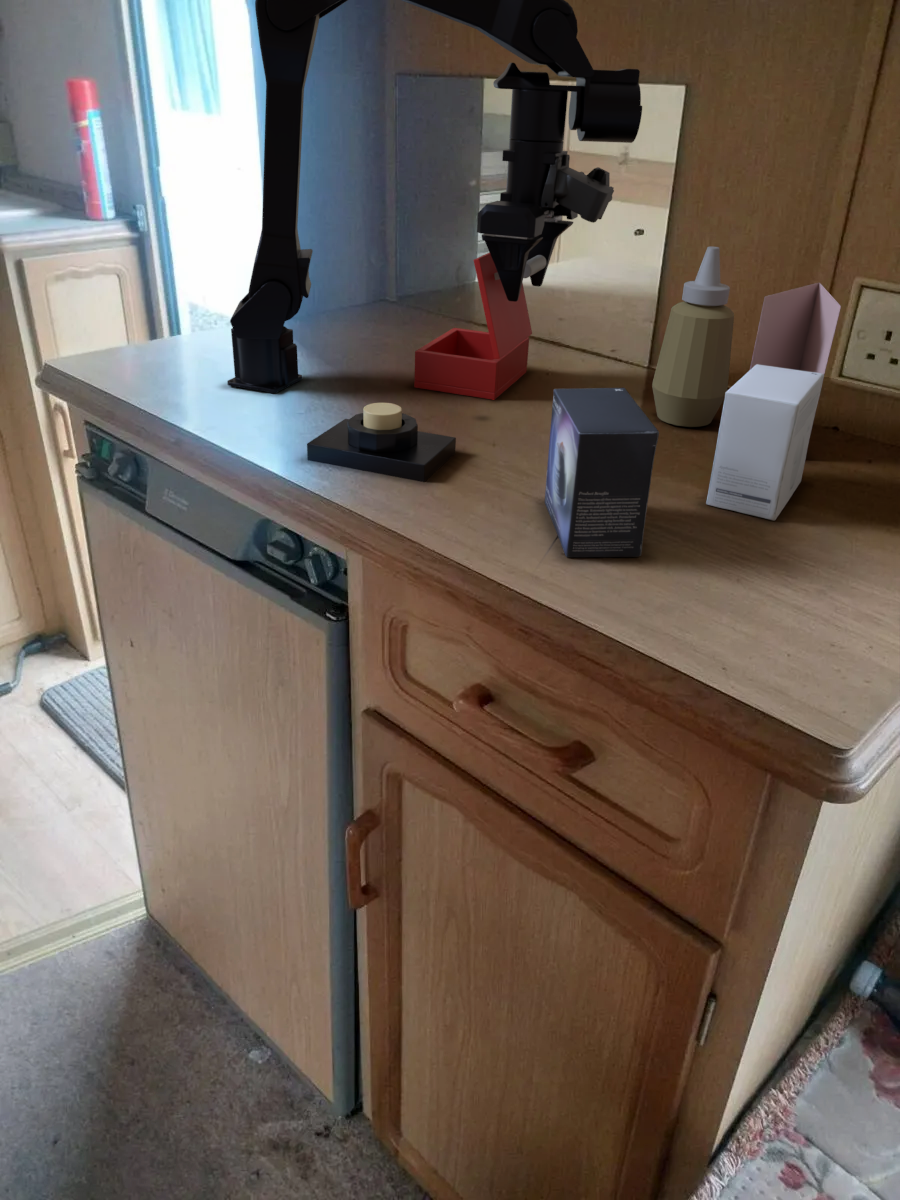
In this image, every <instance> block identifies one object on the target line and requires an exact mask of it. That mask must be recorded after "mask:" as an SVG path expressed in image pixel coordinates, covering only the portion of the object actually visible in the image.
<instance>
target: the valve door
mask: <svg viewBox="0 0 900 1200" xmlns="http://www.w3.org/2000/svg"><path fill="white" fill-rule="evenodd" d="M473 265H474V270H475V274H476V278H477V284H478V288H479V293H480V297H481V303H482V306H483V307H482V308H483V312H484V317H485V323H486V327H487V332H489V336H490V341H491V346H492V350H493V355H494V359H500V358H501V357H502V356H504V355H505V354H506V353H508V352H509V351H510V350H512V349H513V348H514V347H516V346H517V345H518V344H519V343H521V342H522V341H523V340H525V339H526V338H530V336H532V335H533V331H532V324H531V320H530V315H529V310H528V304H527V298H526V294H525V289H524V283H523V282H522V286H521V291H520V295H519V299H518V301H516V302H514V301H508V299H507V297H506V294H505V291H504V288H503V286H502V283H501V280H500V278H499V275H498V272H497V270H496V267H495V264H494V262H493V259H492V257H491V255H490V252H489V251H488V253H485V254H483V255H481V256H478V257H476V258H474V259H473ZM545 266H546V259H545V257H544V256H542V255H537V256H535V257H533V258H531V259H530V260H528V261H527V263H526V268H525V272H524V277H523V279H528V278H530V276H531V275H533V274H535V273H537V272H538V271H540V270H542V269H543V268H545Z"/></svg>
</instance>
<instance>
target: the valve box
mask: <svg viewBox="0 0 900 1200" xmlns="http://www.w3.org/2000/svg"><path fill="white" fill-rule="evenodd" d="M529 346H530V337H527V338H526V339H525V340H523V341H522V342H521V343H519V344H518V345H517V346H516V347H514V348H513V349H512V350H510V351H509V352H508V353H506V354H505V355H504V356H502V357H501V358H500V359H494V355H493V350H492V346H491V341H490V336H489V331H482V330H474V329H468V328H459V327H452V328H451V329H450V330H448V331H446V332H444V333H443V334H441V335H439V336H438V337H436V338H435V339H432V340H431V341H430V342H428V343H426V344H425V345H423V346H421V347H419V348H418V349H416V350H415V351H414V381H413V382H414V384H413V385H414V386H413V388H415V389H421V390H429V391H435V392H440V393H447V394H454V395H460V396H467V397H474V398H479V399H485V400H491V401H494V400H496V399H497V398H499V396H501V395H502V394H503V393H504V392H506V391H507V390H508V389H509V388H510V387H511V386H513V384H515V383H516V382H518V380H519V379H521V378H522V377H523V376H524V375H525V374H526V373H528V361H529V359H528V358H529V349H530V348H529Z"/></svg>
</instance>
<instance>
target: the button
mask: <svg viewBox="0 0 900 1200" xmlns="http://www.w3.org/2000/svg"><path fill="white" fill-rule="evenodd" d="M362 411H363V412H362V413H363V418H364V426H365V427H367V428H370V429H376V430H392V429H396V428H401V427H402V413H403V408H402V407H401V406H400V405H398V404H395V403H391V402H373V403H368V404H367V405H365V406H364V407H363V409H362Z"/></svg>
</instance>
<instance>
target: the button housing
mask: <svg viewBox="0 0 900 1200" xmlns="http://www.w3.org/2000/svg"><path fill="white" fill-rule="evenodd" d="M456 446H457V438H456V437H455V436H450V435H443V434H437V433H432V432H426V431H420V430H419V424H418V422H417V420H416V418H415V417H413V416H411V415H408V414H407V413H403V412H402V427H401V428H396V429H392V430H376V429H370V428H367V427H365V426H364V418H363V412H361V413H357V414H355V415H353V416H351V417H349V418H344V419H342V420H341V421H340V422H338V423H337V424H335V425H334V426H332V427H330V428H329V429H327V430H325V431H324V432H323V433H321V434H320V435H318V436H316V437H314V438H313V439H312V440H310V441H309V442H307V443H306V452H307V453H306V456H307V461H309V462H315V463H320V464H325V465H332V466H337V467H340V468H341V467H342V468H347V469H353V470H358V471H362V472H363V471H364V472H367V473H374V474H379V475H385V476H389V477H395V478H401V479H404V480H410V481H416V482H421V483H425V482H426V481H427V480H428V479H429V478H431V476H433V475H434V474H435V473H436V472H437V471H438V470H439V469H441V467H442V466H443V465H444V464H446V463H447V462H448V461H449V460H451V458H452V457H453V456H454V455H456Z"/></svg>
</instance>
